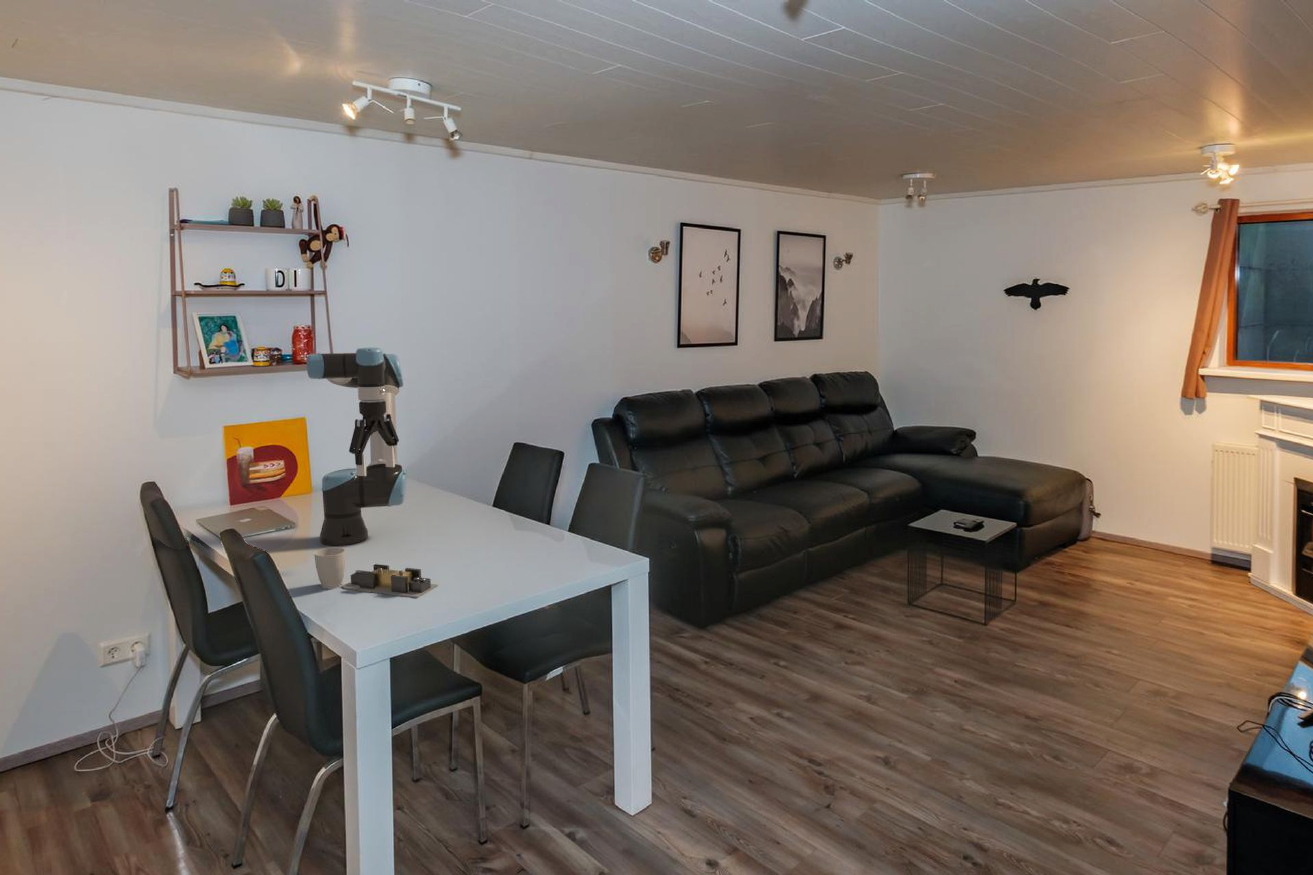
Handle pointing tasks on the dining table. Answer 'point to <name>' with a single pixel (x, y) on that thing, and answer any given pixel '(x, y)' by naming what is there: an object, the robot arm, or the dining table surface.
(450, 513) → the dining table surface
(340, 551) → the cup
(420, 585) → the grey assembly fixture
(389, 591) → the mat
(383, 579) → the gold rectangular block
